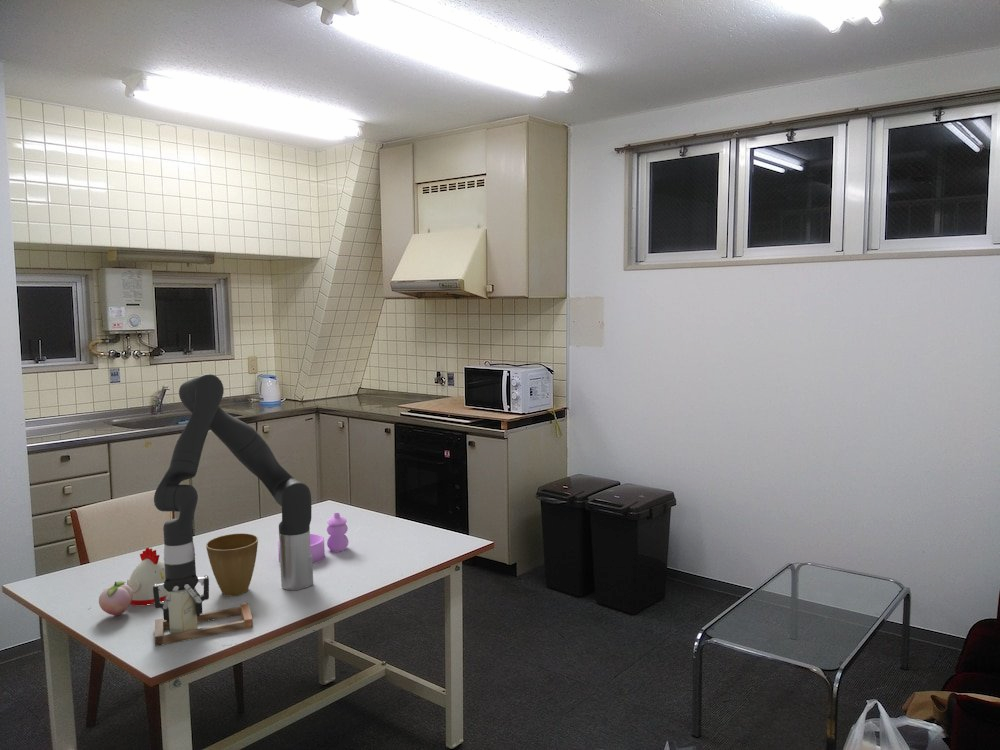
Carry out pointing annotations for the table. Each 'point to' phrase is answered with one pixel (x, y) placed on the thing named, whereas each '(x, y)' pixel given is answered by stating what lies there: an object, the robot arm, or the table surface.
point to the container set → (334, 541)
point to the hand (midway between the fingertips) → (183, 618)
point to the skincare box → (182, 612)
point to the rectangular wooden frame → (206, 631)
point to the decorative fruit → (116, 598)
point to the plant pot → (233, 561)
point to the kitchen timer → (147, 578)
